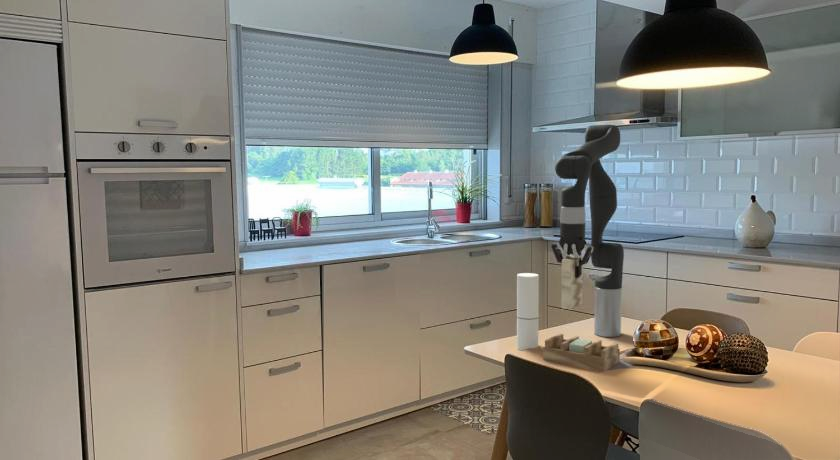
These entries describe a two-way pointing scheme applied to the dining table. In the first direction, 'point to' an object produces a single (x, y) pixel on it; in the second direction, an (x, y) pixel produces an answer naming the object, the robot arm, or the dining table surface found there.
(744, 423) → the dining table surface
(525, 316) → the cylindrical container
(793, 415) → the dining table surface
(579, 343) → the offcut upper
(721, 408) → the dining table surface
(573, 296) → the beige mottled rectangular block
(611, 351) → the rack
